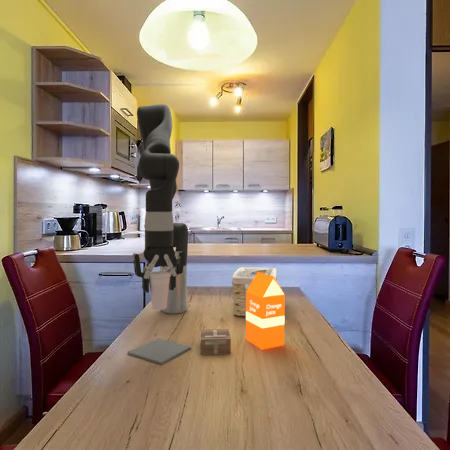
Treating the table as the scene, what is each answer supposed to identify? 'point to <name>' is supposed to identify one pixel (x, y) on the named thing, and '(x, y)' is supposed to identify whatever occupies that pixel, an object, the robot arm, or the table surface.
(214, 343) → the lettered block
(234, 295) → the storage basket
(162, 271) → the smoothie
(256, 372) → the table surface
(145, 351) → the slate pad
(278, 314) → the orange juice
